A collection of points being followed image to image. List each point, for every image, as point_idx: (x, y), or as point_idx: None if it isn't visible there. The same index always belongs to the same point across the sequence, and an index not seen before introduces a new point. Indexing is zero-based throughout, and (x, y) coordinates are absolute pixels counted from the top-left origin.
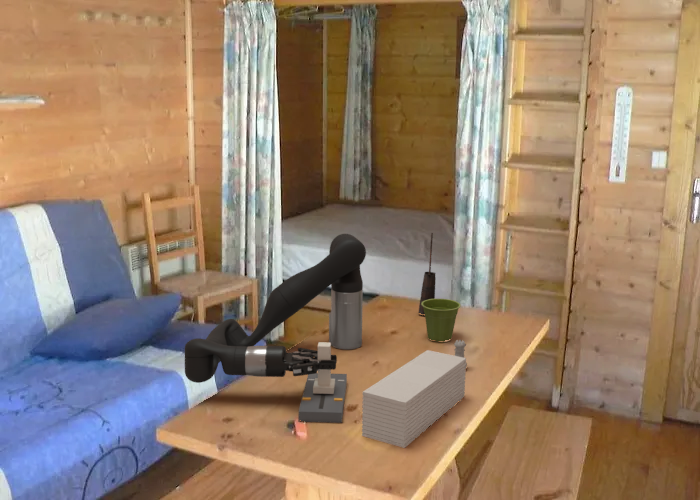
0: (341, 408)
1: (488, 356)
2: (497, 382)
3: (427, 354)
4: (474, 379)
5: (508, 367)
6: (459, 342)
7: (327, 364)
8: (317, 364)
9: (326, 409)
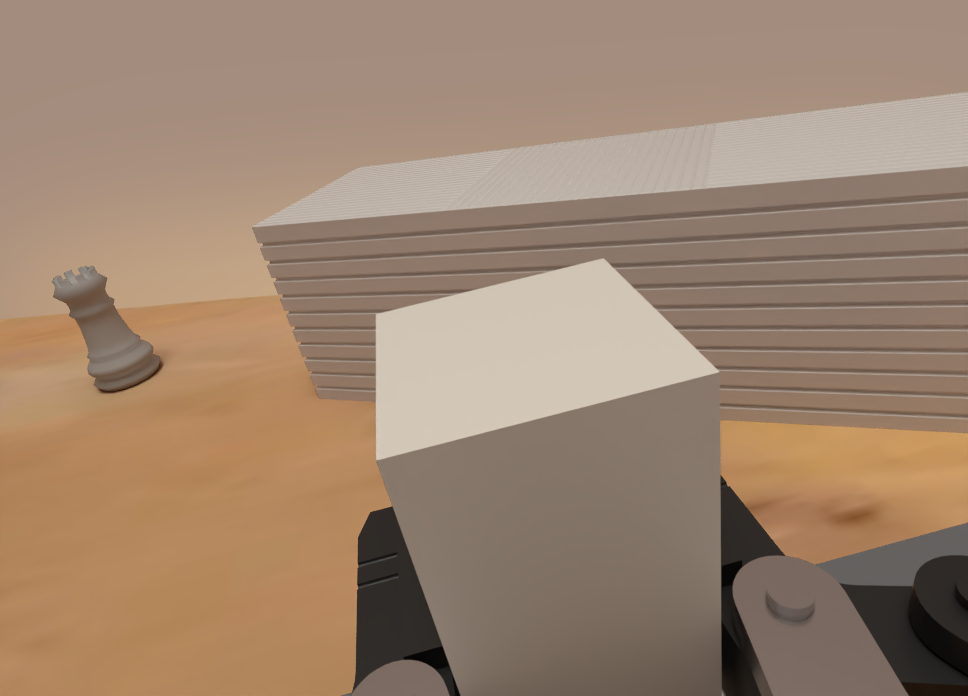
0: (908, 545)
1: (46, 351)
2: (274, 297)
3: (316, 212)
4: (241, 331)
5: (161, 307)
6: (86, 271)
7: (723, 492)
8: (884, 592)
9: None
